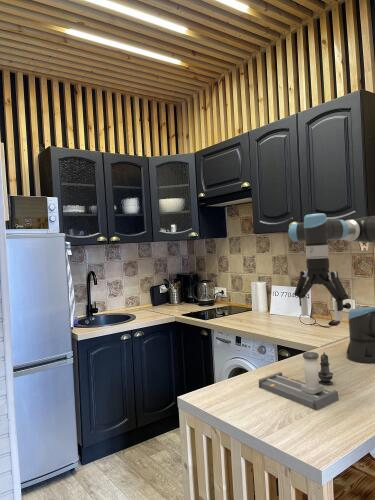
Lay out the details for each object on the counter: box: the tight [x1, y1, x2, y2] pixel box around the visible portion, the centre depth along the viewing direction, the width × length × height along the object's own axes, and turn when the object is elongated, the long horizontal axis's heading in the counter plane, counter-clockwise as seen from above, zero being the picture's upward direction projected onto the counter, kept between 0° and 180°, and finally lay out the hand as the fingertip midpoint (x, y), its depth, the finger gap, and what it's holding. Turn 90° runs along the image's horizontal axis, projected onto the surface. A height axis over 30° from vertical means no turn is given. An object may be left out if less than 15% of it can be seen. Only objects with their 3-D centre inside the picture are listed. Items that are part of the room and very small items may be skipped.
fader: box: [301, 351, 325, 395], centre depth 126 cm, size 6×5×13 cm
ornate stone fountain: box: [318, 351, 334, 387], centre depth 140 cm, size 6×6×12 cm
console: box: [258, 371, 340, 411], centre depth 132 cm, size 12×26×3 cm, turn 34°
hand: (320, 317), depth 127 cm, fingers open, 13 cm apart
